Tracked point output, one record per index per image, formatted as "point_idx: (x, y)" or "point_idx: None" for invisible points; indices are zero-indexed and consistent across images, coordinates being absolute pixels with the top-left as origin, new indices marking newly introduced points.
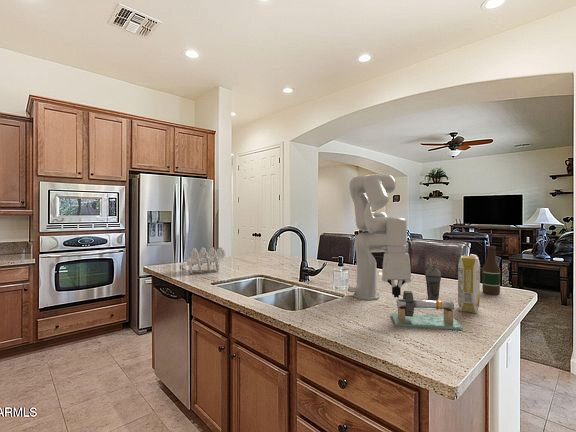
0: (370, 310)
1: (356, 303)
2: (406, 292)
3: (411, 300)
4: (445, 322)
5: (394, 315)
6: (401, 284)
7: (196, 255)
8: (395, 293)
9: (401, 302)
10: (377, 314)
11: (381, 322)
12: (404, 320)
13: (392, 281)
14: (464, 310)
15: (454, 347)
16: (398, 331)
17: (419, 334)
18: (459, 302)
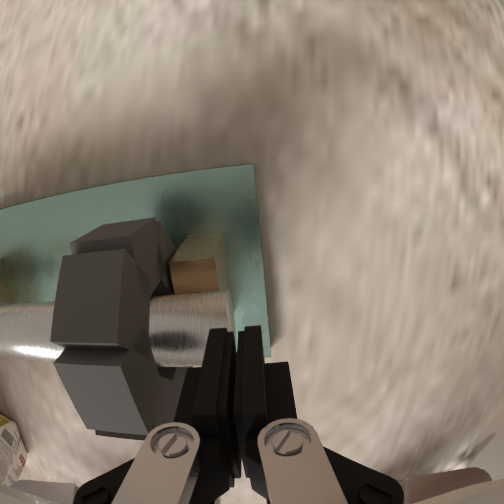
0: (374, 389)
1: (413, 442)
2: (113, 383)
3: (78, 262)
4: (6, 268)
5: (254, 322)
6: (139, 459)
7: None
8: (250, 351)
9: (191, 309)
10: (348, 345)
11: (339, 214)
12: (192, 235)
13: (317, 500)
14: (3, 417)
15: (23, 6)
16: (238, 80)
17: (123, 75)
18: (5, 443)
